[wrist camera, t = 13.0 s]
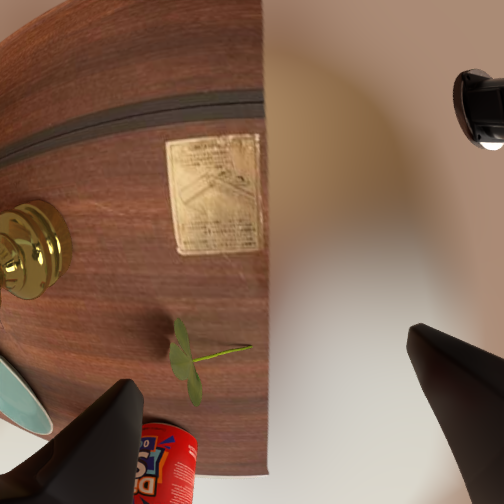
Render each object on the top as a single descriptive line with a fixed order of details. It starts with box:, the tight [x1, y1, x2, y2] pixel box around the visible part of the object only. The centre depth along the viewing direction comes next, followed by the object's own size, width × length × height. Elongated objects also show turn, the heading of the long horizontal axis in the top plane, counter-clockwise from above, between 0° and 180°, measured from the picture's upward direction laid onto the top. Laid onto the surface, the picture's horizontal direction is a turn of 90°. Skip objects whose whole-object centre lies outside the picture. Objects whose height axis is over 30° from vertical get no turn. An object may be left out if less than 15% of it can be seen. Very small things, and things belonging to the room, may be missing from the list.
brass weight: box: [0, 200, 72, 307], centre depth 15 cm, size 7×7×10 cm
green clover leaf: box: [169, 318, 252, 407], centre depth 22 cm, size 7×8×6 cm
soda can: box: [133, 423, 198, 504], centre depth 22 cm, size 8×8×15 cm
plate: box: [0, 355, 53, 435], centre depth 25 cm, size 22×22×3 cm
